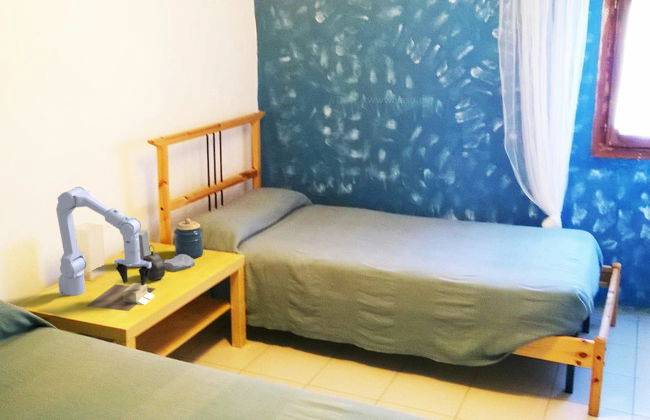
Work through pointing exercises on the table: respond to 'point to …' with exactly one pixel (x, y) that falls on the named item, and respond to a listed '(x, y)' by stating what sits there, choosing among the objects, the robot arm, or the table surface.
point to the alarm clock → (155, 266)
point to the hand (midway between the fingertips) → (134, 283)
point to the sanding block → (134, 293)
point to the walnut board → (114, 299)
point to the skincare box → (143, 244)
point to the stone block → (179, 262)
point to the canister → (188, 239)
